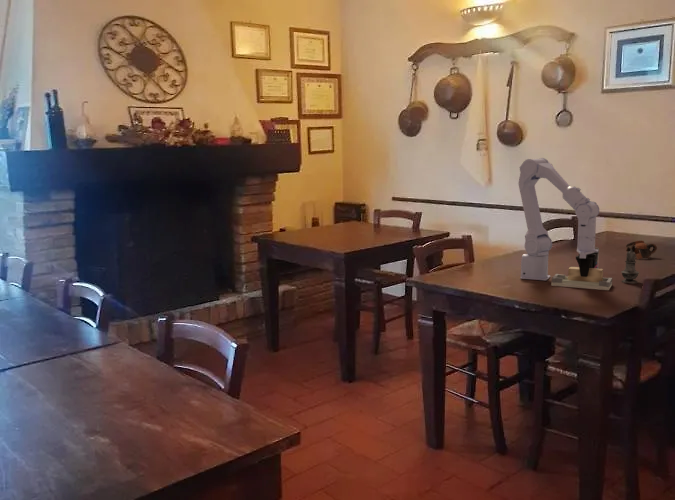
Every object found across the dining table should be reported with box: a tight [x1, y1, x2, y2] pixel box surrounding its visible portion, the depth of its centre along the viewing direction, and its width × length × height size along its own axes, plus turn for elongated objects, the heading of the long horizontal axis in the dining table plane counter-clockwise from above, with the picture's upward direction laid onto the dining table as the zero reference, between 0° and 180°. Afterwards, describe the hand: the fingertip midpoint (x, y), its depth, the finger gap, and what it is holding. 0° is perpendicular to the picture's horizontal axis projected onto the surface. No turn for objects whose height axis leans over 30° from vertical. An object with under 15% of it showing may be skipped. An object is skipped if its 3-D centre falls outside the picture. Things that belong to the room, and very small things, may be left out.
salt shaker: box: [620, 249, 640, 284], centre depth 240 cm, size 6×6×12 cm
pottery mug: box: [625, 240, 658, 260], centre depth 286 cm, size 12×10×8 cm
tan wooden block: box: [567, 266, 604, 282], centre depth 236 cm, size 11×4×5 cm, turn 62°
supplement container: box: [591, 246, 600, 269], centre depth 253 cm, size 7×7×10 cm
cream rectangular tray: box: [550, 273, 613, 291], centre depth 237 cm, size 19×9×3 cm, turn 62°
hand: (585, 275), depth 236 cm, fingers closed on tan wooden block, 4 cm apart
